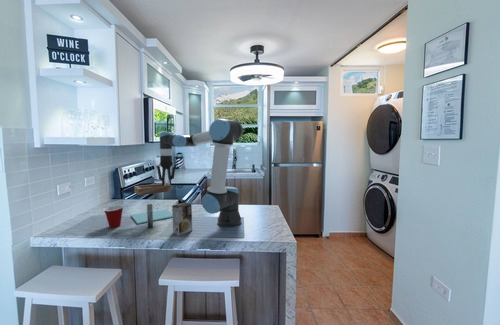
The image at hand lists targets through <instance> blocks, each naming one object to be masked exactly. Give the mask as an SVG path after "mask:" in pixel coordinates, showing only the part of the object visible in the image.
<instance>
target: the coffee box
mask: <svg viewBox="0 0 500 325" xmlns="http://www.w3.org/2000/svg"><path fill="white" fill-rule="evenodd" d="M171 207H172V209H171V210H172V212H171V213H172V214H173V218H172V233H173V234H175V235H177V236H181V235H184V234H187V233H190V232H192V231H193V212H192V203H189V202H185V201H184V202H181V203H175V204H173V205H171Z"/></svg>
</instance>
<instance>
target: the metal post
mask: <svg viewBox="0 0 500 325" xmlns="http://www.w3.org/2000/svg"><path fill="white" fill-rule="evenodd" d="M153 208H154V207H153V204H152V203H148V204H146V212H147V221H148V223H147V228H148V229H152V228H154V221H153V211H154V209H153Z"/></svg>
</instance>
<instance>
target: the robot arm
mask: <svg viewBox="0 0 500 325" xmlns="http://www.w3.org/2000/svg"><path fill="white" fill-rule="evenodd" d="M243 133H244V129H243V126H242V124H241V123H240V122H239V121H236V120H231V119H227V118H226V119H225V118H217V119H215V120H214V121H212V122H211V124H210V126H209V130H207V131H204V132H198V133H195V134H190V135H188V134H187V135H185V134H184V135H183V134H173V135H172V132H170V131H161V132H160V133H159V155H160V156H159V158H160V159H159V160H160V161H159V164H157V165H155V167H156V168H155V169H156V170H157V175H158V180H160V181H161V183H162V185H163V186H164V185H166V183H167V184H169V185H172V180H174V179H175V172H176V167H177V164H174V162H173V156H172V155H173V147H175V148H184V147H186V148H187V147H197V146H199V145H200V146H201V145H206V144H210V143H212V144H213V146H214V148H213V156H212V164H211V165H212V166H211V167H212V168H211V175H210V185H209V186H208V187H207V188H206V193H205V195H203V196H202V198H201V206H202V208H203V209H204V211H205V212H206V213H208V214H212V215H213V214H217V213H219V214H218V218H217V224H218V225H219V226H223V227H236V226H239V225H241V224H242V217H241V215H240V211H239V208H240V207H239V200H240V199H239V196H240V195H239V194H240V192H239V188H238V187H235V186H226V181H227V174H228V164H229V158H230V148H231V147H232V146H233V145H234V141H237V140H239V139H240V138H241V137H242V136H243ZM166 170H167V171H166ZM166 172H167V178H168V179H167V180H166V179H165V178H166Z"/></svg>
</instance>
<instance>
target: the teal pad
mask: <svg viewBox="0 0 500 325" xmlns="http://www.w3.org/2000/svg"><path fill="white" fill-rule="evenodd" d="M130 217H131V218H132V219H133V221H134V222H135V223H136V225H143V224H148V221H147V211H146V212H139V213H134V214H130ZM169 219H173V213H172V212H171V211H170V210H168V209H166V208H163V209H158V210H153V222H157V221H158V222H159V221H163V220H169Z"/></svg>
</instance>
